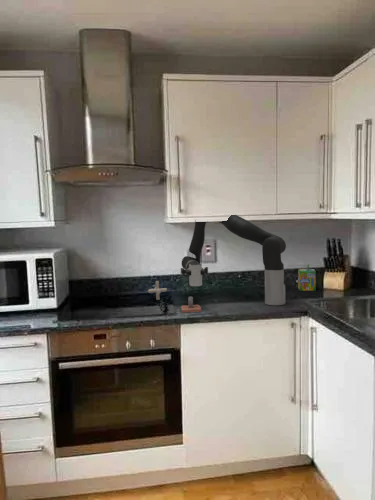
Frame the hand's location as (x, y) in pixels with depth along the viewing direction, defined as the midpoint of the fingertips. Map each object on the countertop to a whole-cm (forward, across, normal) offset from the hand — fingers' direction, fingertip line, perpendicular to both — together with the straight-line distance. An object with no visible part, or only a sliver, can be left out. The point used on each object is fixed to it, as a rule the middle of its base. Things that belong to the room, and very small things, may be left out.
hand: (195, 273), depth 175 cm
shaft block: (-2, -3, +18) cm, 18 cm away
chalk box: (-35, +67, +18) cm, 78 cm away
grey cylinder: (-2, 0, +6) cm, 6 cm away
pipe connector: (-28, -19, +18) cm, 38 cm away
